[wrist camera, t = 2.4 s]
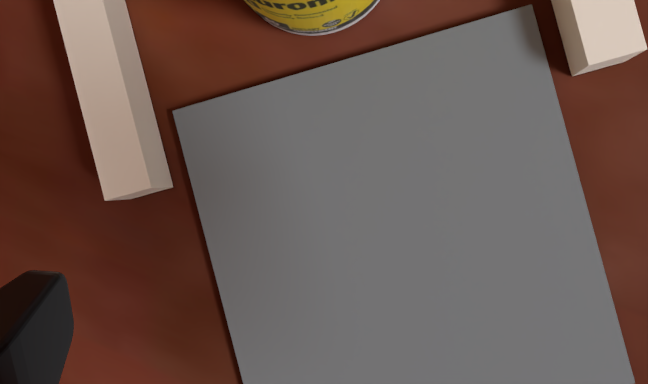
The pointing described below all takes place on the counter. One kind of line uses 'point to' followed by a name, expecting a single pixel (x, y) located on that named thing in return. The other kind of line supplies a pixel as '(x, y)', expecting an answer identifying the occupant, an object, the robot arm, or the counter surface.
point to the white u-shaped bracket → (136, 107)
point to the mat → (406, 219)
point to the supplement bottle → (312, 14)
